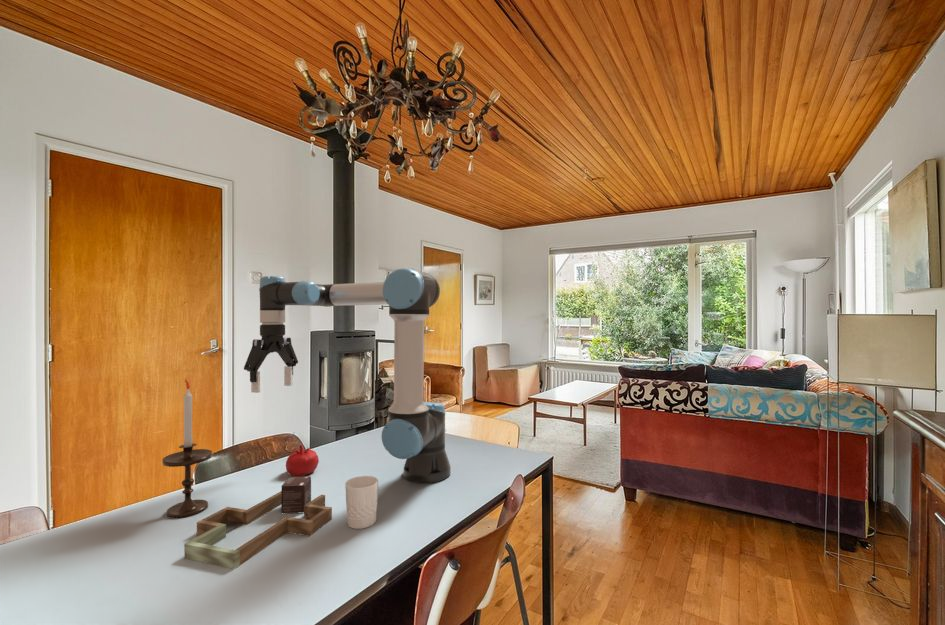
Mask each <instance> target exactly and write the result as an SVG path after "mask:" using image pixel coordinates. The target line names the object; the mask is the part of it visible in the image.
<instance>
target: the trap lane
mask: <svg viewBox="0 0 945 625" xmlns="http://www.w3.org/2000/svg"><path fill="white" fill-rule="evenodd" d="M281 491H282V490H281ZM281 491H278V492H277V493H275V494H273V495H271V496H269V497H268V498H266V499H264V500H262V501H261V502H259V503H256V504H255V505H253V506H251V507H250V508H248V509H244V508H238V507H237V508H236V507H231V506H226V507H224V508H222V509H220V510H218V511H216V512H214V513H212V514H210V515H208V516H206V517H203V518H202V519H200V520H199V521H196V537H194V538H193V539H191V540H189V541H187V542H186V543H184V547H183V548H184V552H183V553H184V560H185V559H186V560H191V561H195V562H200V563H205V564H210V565H215V566H220V567H223V568H227V569H228V568H229V569H234V570H235V569H237V568H238V567H240V566H241V565H243V564H244V563H246V562H247V561H248V560H250V559H251V558H253V557H254V556H256V555H257V554H259V553H260V552H262V551H263V550H265V549H266V548H267V547H269V546H270V545H272V544H273V543H275V542H276V541H277V540H279V539H280V538H282V537H283V536H284V535H286V534H294V533H296V534H295V535H300V534H301V536H306V535H308V536H307V537H311V536H312V535H313V534H314V533H316V532H318V531H319V530H320V529H321V528H323V527H324V526H326V524H328V523H330V522H331V521H332V520H333V507H332V506H326V495H325V494H320V495H318V496H317V497H315V498H314V499H311V502H309V503H307V504H306V505H304V513H303V518H304V519H303V518H298V517H294V516H293V517H292V516H286V517H284V518H283V519H281V520H279V521H278V522H277V523H275V524H273V525H271V526H270V527H268V528H267V529H265V530H264V531H262V532H261V533H259V534H257V535H256V536H255V537H252V538H251V539H250V540H248V541H245V542H244V544H242V545H240V546H239V547H237V548H236V549H233V548H227V547H223V546H222V547H221V546H217V545H216V544H217V543H218V542H220V541H222V540H224V539H226V537H227V535H228V534H229V533H231V532H232V531H235V530H236V529H237V528H239V527H241V526H242V525H245V526H247V525H249V524H251V523H253V522H254V521H256V520H258V519H259V518H261V517H263V516H264V514H265V515H266V514H268V513H270V512H271V511H273V510H275V509H276V508H278V507H281ZM323 525H324V526H323ZM319 528H320V529H319ZM318 529H319V530H318ZM288 532H289V533H288ZM310 535H311V536H310Z"/></svg>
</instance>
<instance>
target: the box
mask: <svg viewBox="0 0 945 625" xmlns="http://www.w3.org/2000/svg"><path fill="white" fill-rule="evenodd" d="M311 501H312V476H309V475H308V476H298V477H296V476H292V477H291V476H290V477H289V476H288V478H287V479H286V480H285V481H284V483H283V484H281V505H280V507H281V508H280V510H281V512H280V513H281V514H282V513H283V514H284V513H287V514H299V513H298V512H304V505H306V504H307V503H309V502H311ZM283 514H282V515H283Z"/></svg>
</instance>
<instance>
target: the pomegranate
mask: <svg viewBox="0 0 945 625" xmlns="http://www.w3.org/2000/svg"><path fill="white" fill-rule="evenodd" d="M298 447H299V449H296V448H294V449H292V452H291V454H290V455H288V456H287V459H286V462H285V469H286V472H287V473H288V475H289V476H292V477H305V476H306V475H308V474H312V473H314V471H315V470H316V469H317V467H318V464H319V463H320V460H319V459H320V458H319V456H318V454H317V452H316V451H314V450H313V449H314V448H312V447H307V449H304V448H305V446H304V447H303V444H299V445H298Z"/></svg>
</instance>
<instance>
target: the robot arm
mask: <svg viewBox="0 0 945 625" xmlns="http://www.w3.org/2000/svg"><path fill="white" fill-rule="evenodd" d="M440 288H441V287H440V284H439V282H438V280H437V279H436V278H435V277H434V276H433V275H432V274H430V273H428V272H424V271H419V270H417V269H414V268H410V267H409V268H404V267H403V268H398V269H395V270H393V271H392V272H391V273H389V274H388V275H387V277H386V278H385V280H384V281H375V282H373V281H372V282H356V283H355V282H353V283H330V284H322V283H321V284H317V283H315V282H314V281H308V280H307V281H305V280H301V281H291V282H289V281H288V282H286V279H285V277H283V276H278V275H274V276H273V275H266V276H262V277H261V278H260V280H259V288H258V291H259V322H260V325H259V335H260V337H261V339H255V338H254V339H253V340H252V342H251V344H252V346H251V348H250V351H249V354H248V356H247V358H246V361H245V363H244V366H243V370H244V371H247V372H249V382H250V383H251V386H250V387H251V393H258V394H259V393H261V371H258V370H259V369H260V368H261V366H262V364H263V363H264V361H265V359H266V357H267V356H268V355H270V354H271V353H277V354H278V356H279V357H280V358H281V360H282V361H283V363H284V364H285V366H284V367H283V369H284V370H283V371H284V373H283V374H284V375H283V376H284V378H283V379H284V380H283V382H284V386H286V387H292V386H293V376H294V367H296V365H297V364H298V363H299V360H298V356H297V355H296V352H295V350H294V347H293V345H292V339H291V338H292V337H284V336H285V335H286V324H284V323H286V306H307V307H308V306H311V307H312V306H313V307H327V308H328V307H333V306H334V307H335V306H336V307H337V306H338V307H339V306H369V305H370V306H373V305H374V306H375V305H377V306H378V305H388V309H389V310H388V312H389V314H388V315H389V317H390V318H391V319H392V320H393V323H394V326H393V327H394V331H393V332H394V339H393V340H394V342H393V344H394V345H393V346H394V349H393V351H394V353H393V355H394V356H393V403H392V404H391V405H390V407H389V408H388V413H387V414H388V418H387V419H388V422H386V424H385V425H384V426H383V427H382V431H381V442H382V446H383V447H384V449H385V450H386V451H387V452H388V454H389V455H391V456H392V457H394V458H396V459H399V460H405V463H404V465H403V477H404V479H406V480H407V481H411V482H413V483H423V484H425V483H437V482H440V481H443V480H446V479H447V478H449V477H450V476H451V472H452V471H451V463H450V461H449V457H448V454H447V451H446V409H445V405H444V404H443V403H441V402H433V401H431V402H430V401H424V392H425V391H424V389H425V387H424V380H425V379H424V378H425V377H424V376H425V373H424V372H425V371H424V368H425V367H424V365H425V364H424V362H425V320H427V318H428V317H430V308H431V307H433V306H435V304H436V303H437V302H438V300H439V297H440V293H441V289H440Z"/></svg>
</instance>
